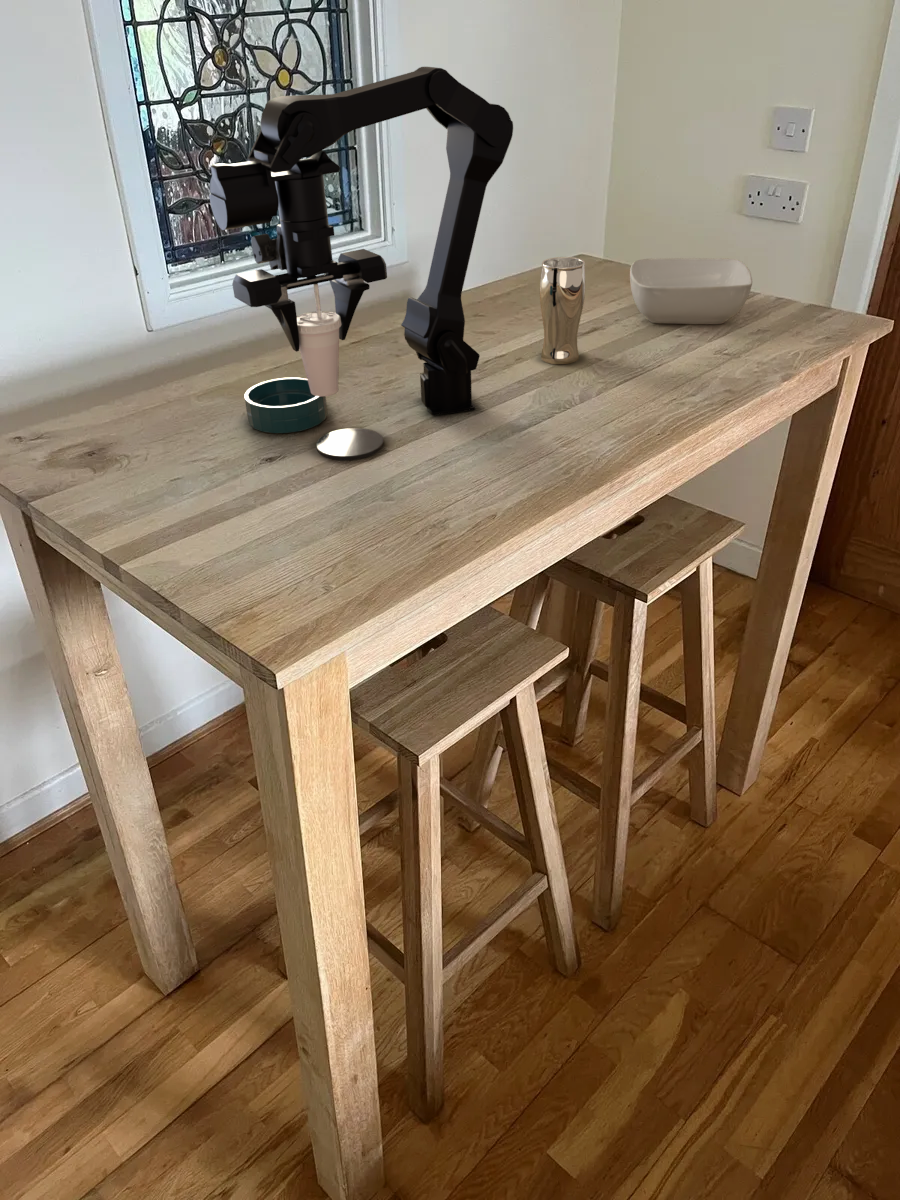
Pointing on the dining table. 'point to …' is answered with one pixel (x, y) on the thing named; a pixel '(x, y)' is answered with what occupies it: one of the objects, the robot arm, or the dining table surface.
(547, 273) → the beer glass
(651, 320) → the bowl
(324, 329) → the smoothie
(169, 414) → the dining table surface
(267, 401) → the teal faceted dish
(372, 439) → the coaster
